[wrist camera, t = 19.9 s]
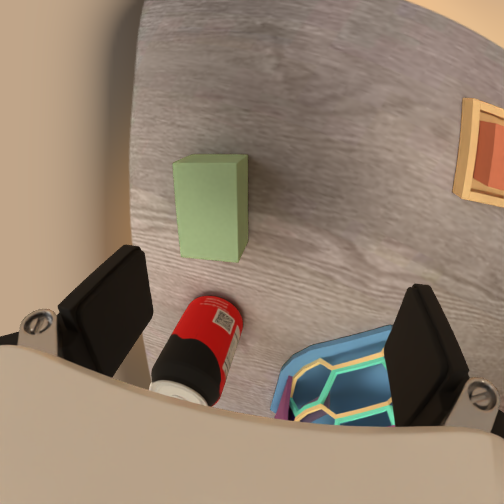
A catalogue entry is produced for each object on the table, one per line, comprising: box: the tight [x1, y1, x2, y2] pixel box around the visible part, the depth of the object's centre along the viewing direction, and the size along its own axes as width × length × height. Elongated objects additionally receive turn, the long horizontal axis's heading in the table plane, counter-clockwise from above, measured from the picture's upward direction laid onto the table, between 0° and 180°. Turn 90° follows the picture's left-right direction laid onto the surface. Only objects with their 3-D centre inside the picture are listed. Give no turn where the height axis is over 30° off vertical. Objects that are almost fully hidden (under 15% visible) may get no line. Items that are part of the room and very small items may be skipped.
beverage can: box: [150, 296, 243, 407], centre depth 27 cm, size 6×6×12 cm
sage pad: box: [173, 154, 248, 263], centre depth 24 cm, size 8×5×4 cm, turn 0°
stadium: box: [270, 325, 395, 427], centre depth 29 cm, size 35×24×14 cm
